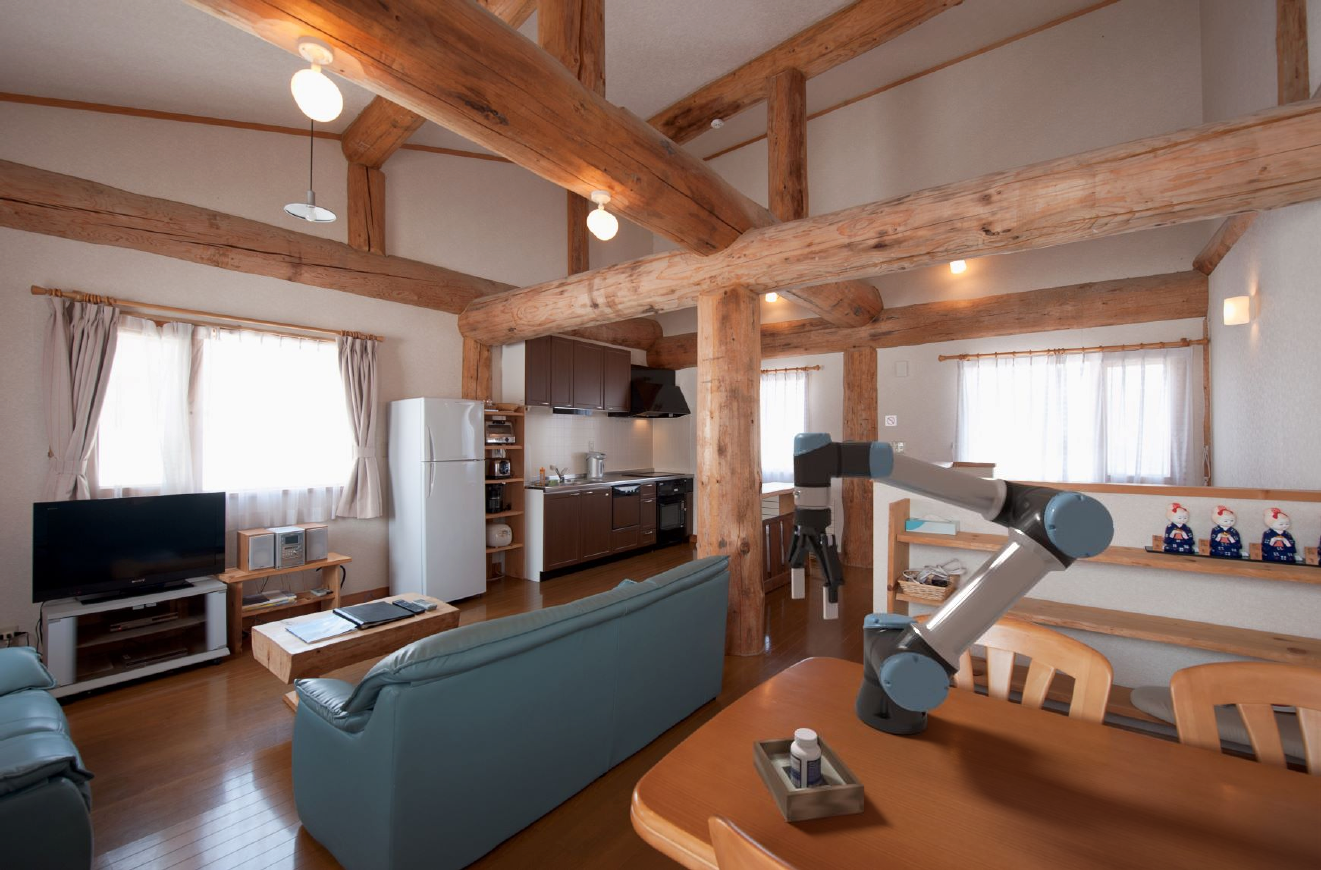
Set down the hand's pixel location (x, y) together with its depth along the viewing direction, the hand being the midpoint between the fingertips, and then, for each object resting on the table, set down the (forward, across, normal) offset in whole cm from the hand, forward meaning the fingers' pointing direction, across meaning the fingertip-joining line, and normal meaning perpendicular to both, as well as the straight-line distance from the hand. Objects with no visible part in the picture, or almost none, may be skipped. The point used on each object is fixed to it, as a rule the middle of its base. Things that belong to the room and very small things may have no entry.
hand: (813, 607), depth 114 cm
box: (+28, +13, -9) cm, 32 cm away
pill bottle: (+28, +13, -9) cm, 32 cm away
